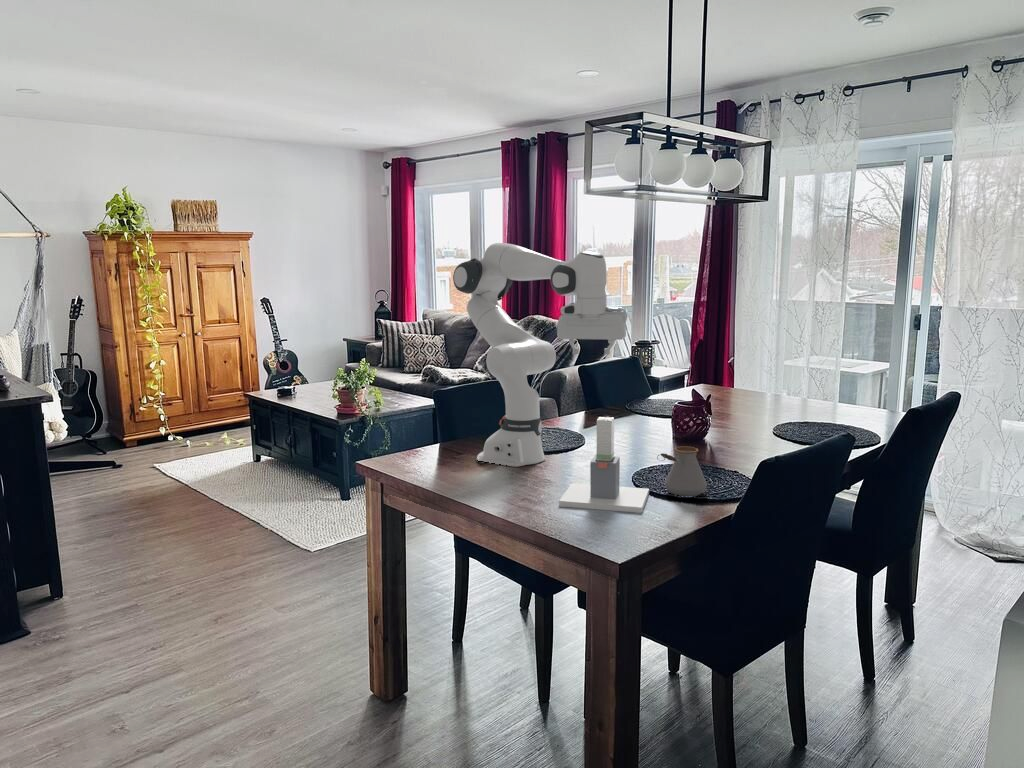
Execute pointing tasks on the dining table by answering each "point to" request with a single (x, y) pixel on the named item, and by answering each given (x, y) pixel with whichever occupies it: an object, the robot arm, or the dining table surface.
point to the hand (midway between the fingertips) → (591, 354)
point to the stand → (605, 490)
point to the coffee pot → (685, 473)
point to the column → (605, 439)
